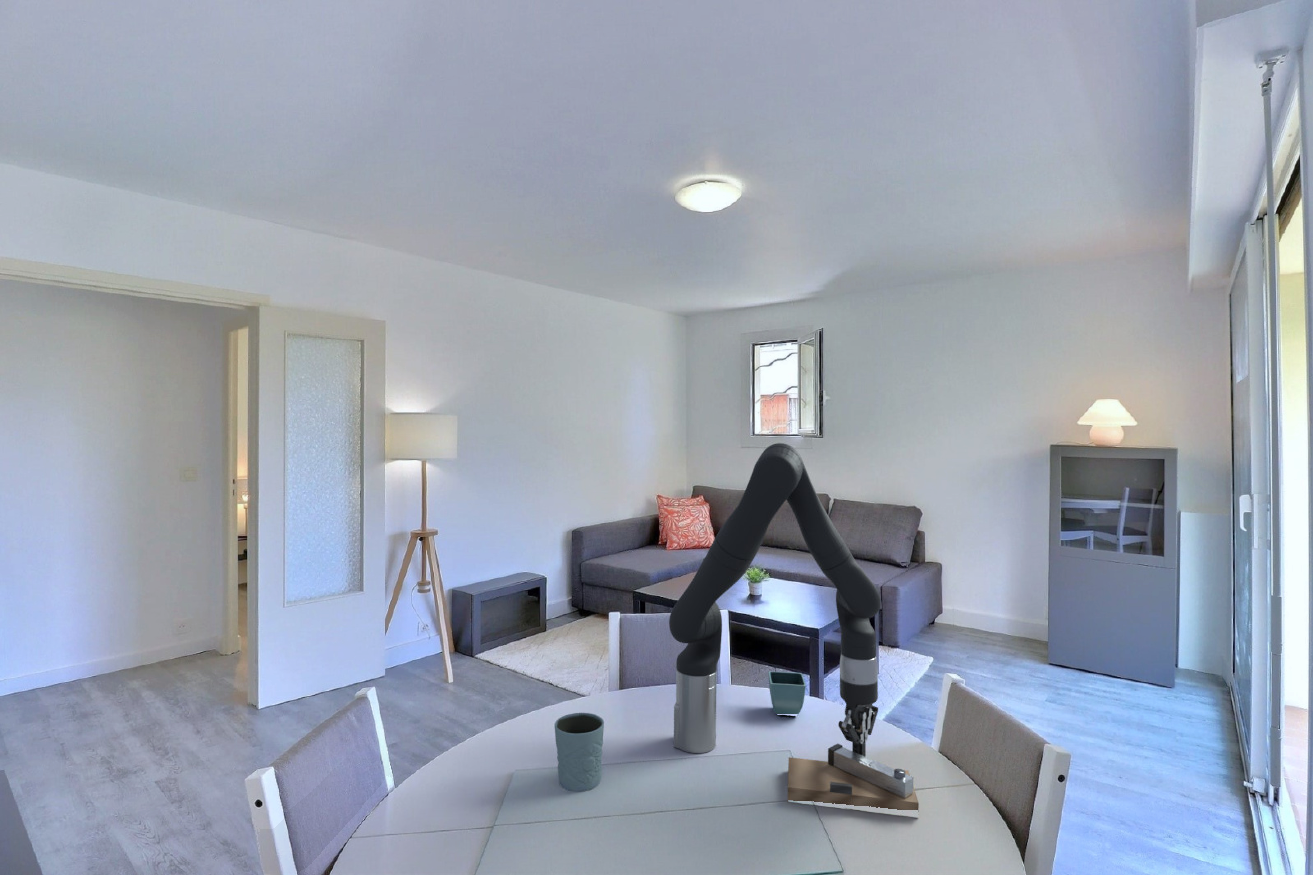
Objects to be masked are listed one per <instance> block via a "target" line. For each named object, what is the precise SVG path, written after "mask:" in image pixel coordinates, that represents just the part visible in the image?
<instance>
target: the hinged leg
mask: <svg viewBox="0 0 1313 875" xmlns="http://www.w3.org/2000/svg"><path fill="white" fill-rule="evenodd" d="M827 762H828V764H830V765H832V766H835V767H837V768H840V769H842V770H844V771H846V772H848V773H851V774H853V775H855V776H857V777H859V778H861V779H864V780H866V781H868V782H870V783H872V784H875V785H877V786H879V787H881V788H883V789H886V790H888V791H890V792H892V793H894V794H897V795H899V796H901V797H903V798H906V797H908V796H909V795H911V794H912V793H913V787H914V776H911V775H910V776H909V775H907V774H905V771H904V770H905V769H902V768H893V767H891V766H888V765H886V764H883V763H881V762H879V761H877V760H874V759H871V758H869V757H867V756H866V757H865V756H862V755H860V754H858V753H855V752H853V751H852V750H850V749H848V748H847V747H843V745H842V744H840V743H836V744H834V745H832V746H830V747H829V748H827Z"/></svg>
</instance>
